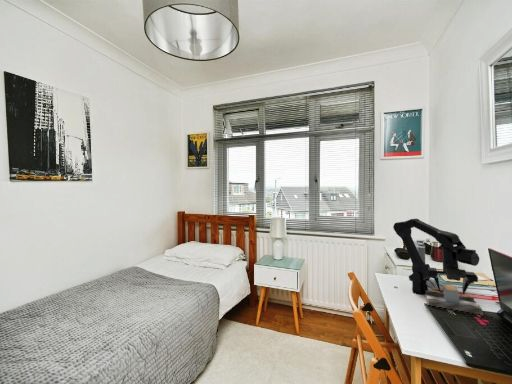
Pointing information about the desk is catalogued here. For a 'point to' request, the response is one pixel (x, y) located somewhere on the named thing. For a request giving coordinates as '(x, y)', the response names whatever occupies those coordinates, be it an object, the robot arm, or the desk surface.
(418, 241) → the flask
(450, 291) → the module
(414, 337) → the desk surface
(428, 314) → the desk surface
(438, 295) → the rail board
